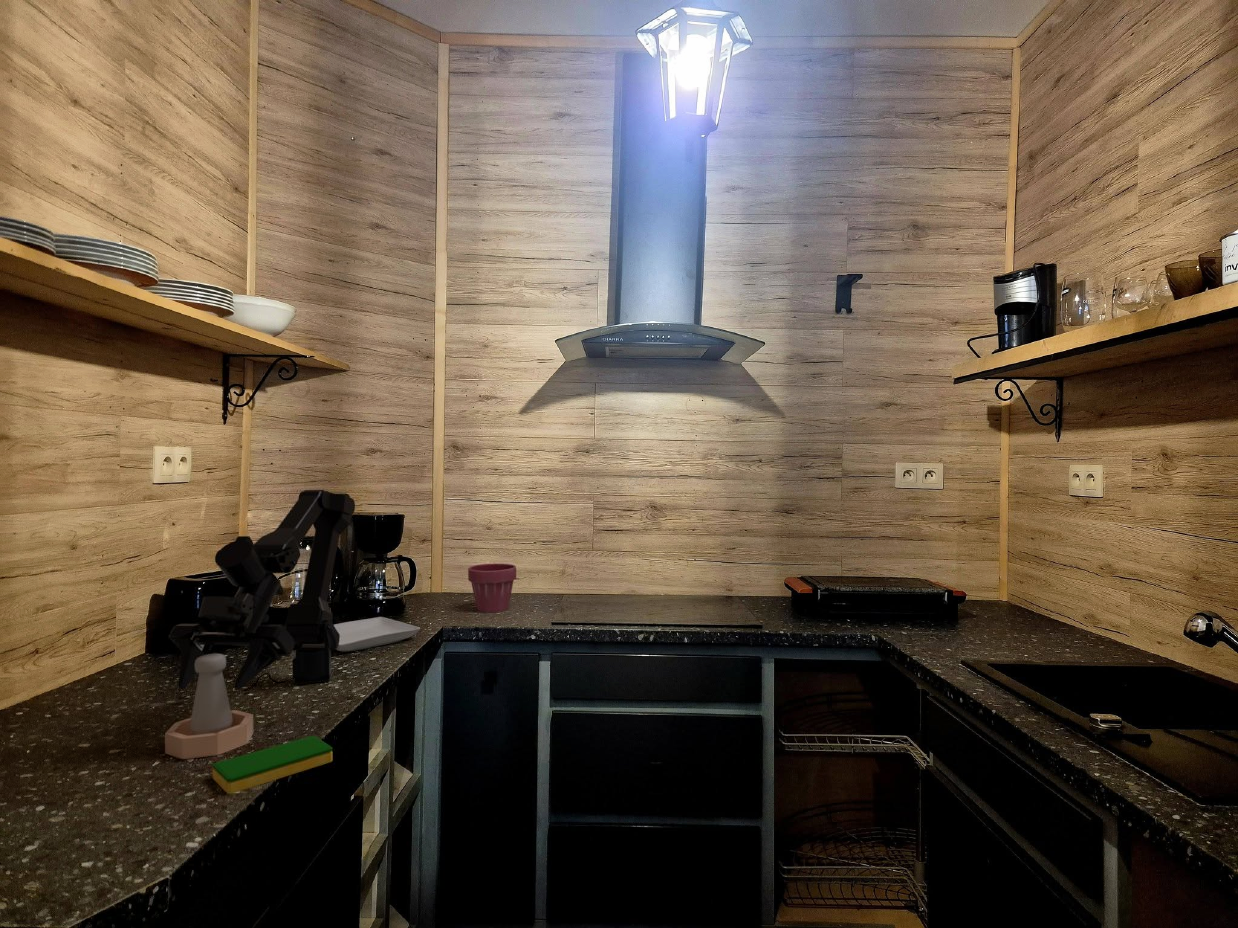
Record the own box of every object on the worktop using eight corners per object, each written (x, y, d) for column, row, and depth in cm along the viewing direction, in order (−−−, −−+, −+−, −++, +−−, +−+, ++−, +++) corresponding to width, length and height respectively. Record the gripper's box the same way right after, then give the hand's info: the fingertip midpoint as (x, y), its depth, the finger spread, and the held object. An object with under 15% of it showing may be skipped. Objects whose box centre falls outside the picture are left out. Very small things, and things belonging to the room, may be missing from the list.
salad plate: (300, 643, 170) (300, 629, 170) (381, 627, 185) (381, 614, 185) (337, 659, 155) (337, 644, 155) (422, 641, 170) (422, 627, 170)
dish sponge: (333, 763, 100) (333, 747, 100) (228, 797, 90) (228, 778, 90) (314, 750, 105) (313, 734, 105) (212, 780, 95) (212, 762, 95)
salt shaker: (214, 729, 111) (213, 649, 111) (241, 733, 109) (240, 651, 109) (180, 743, 106) (179, 658, 106) (209, 747, 104) (208, 661, 104)
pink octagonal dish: (257, 725, 114) (257, 707, 114) (241, 752, 104) (241, 732, 104) (181, 734, 111) (181, 715, 111) (157, 762, 100) (157, 741, 100)
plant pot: (504, 615, 196) (503, 570, 196) (459, 613, 200) (459, 569, 200) (524, 605, 210) (523, 563, 210) (482, 603, 214) (481, 562, 214)
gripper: (175, 575, 113) (122, 661, 102) (283, 575, 111) (241, 663, 100) (209, 612, 121) (163, 696, 110) (310, 613, 119) (273, 698, 108)
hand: (208, 688), depth 107 cm, fingers open, 9 cm apart
